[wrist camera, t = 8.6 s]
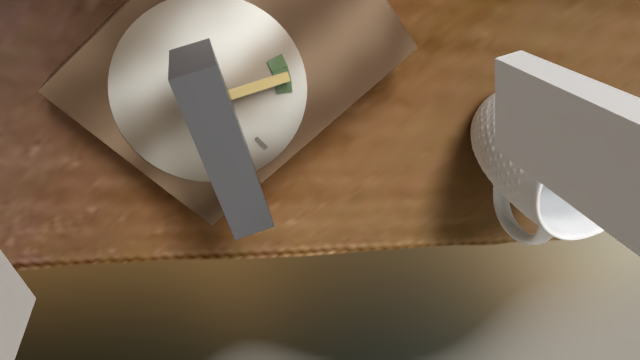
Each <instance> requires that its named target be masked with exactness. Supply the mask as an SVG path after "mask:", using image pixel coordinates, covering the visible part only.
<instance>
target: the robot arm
mask: <svg viewBox="0 0 640 360" xmlns="http://www.w3.org/2000/svg"><path fill="white" fill-rule="evenodd" d="M495 150H497V151H498V152H499V153H501V154H502V155H503V156H505V157H506V158H508V159H509V160H510V161H512V162H513V163H514V164H516V165H517V166H518V167H520V168H521V169H522V170H524V171H525V172H526V173H528V174H529V175H530V176H532V177H533V178H534V179H536V180H537V181H539V182H540V183H541V184H543V185H544V186H545V187H547V188H548V189H549V190H551V191H552V192H553V193H555V194H556V195H557V196H559V197H560V198H561V199H563V200H564V201H566V202H567V203H568V204H570V205H571V206H572V207H574V208H575V209H576V210H578V211H579V212H580V213H582V214H583V215H584V216H586V217H587V218H588V219H590V220H591V221H592V222H594V223H595V224H597V225H598V226H599V227H601V228H602V229H603V230H605V231H606V232H607V233H609V234H610V235H611V236H613V237H614V238H615V239H617V240H618V241H620V242H621V243H622V244H624V245H625V246H626V247H628V248H629V249H630V250H632V251H633V252H634V253H636V254H637V255H638V256H640V98H638V97H636V96H634V95H631V94H629V93H626V92H624V91H621V90H619V89H616V88H614V87H611V86H609V85H606V84H604V83H601V82H599V81H596V80H594V79H591V78H589V77H586V76H584V75H581V74H579V73H576V72H574V71H571V70H569V69H566V68H564V67H561V66H559V65H556V64H554V63H551V62H549V61H546V60H544V59H542V58H539V57H537V56H534V55H532V54H529V53H527V52H524V51H522V50H521V51H517V52H514V53H511V54H507V55H504V56H501V57H497V58H495ZM35 300H36V297H35V296H34V295H33V294H32V292H31V291H30V289H29V288H28V287H27V285H26V284H25V283H24V281H23V280H22V278H21V277H20V276H19V274H18V273H17V272H16V270H15V269H14V268H13V266H12V265H11V264H10V262H9V261H8V259H7V258H6V257H5V255H4V254H3V253H2V251H1V250H0V360H15V357H16V354H17V351H18V349H19V346H20V343H21V340H22V337H23V334H24V332H25V329H26V326H27V323H28V320H29V317H30V314H31V312H32V308H33V306H34V303H35Z"/></svg>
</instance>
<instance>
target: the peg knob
mask: <svg viewBox="0 0 640 360" xmlns="http://www.w3.org/2000/svg"><path fill="white" fill-rule="evenodd" d="M168 81H169V84H170V86H171V89H172V91H173V93H174V96H175V98H176V100H177V103H178V105H179V108H180V110H181V112H182V115H183V117H184V119H185V122H186V124H187V127H188V129H189V131H190V134H191V136H192V138H193V141H194V143H195V146H196V148H197V150H198V153H199V155H200V157H201V160H202V162H203V165H204V167H205V169H206V172H207V174H208V176H209V179H210V181H211V184H212V186H213V188H214V191H215V193H216V195H217V198H218V200H219V203H220V205H221V207H222V210H223V212H224V214H225V217H226V219H227V221H228V224H229V226H230V229H231V231H232V233H233V236H234V238H235V240H237V239H240V238H243V237H246V236H249V235H251V234H254V233H257V232H260V231H263V230H265V229H268V228H271V227H274V223H273V220H272V217H271V214H270V211H269V208H268V205H267V202H266V199H265V195H264V192H263V189H262V186H261V183H260V180H259V177H258V174H257V171H256V169H255V166H254V163H253V160H252V157H251V154H250V152H249V149H248V146H247V143H246V140H245V138H244V135H243V132H242V129H241V126H240V123H239V121H238V118H237V115H236V112H235V109H234V105H233V102H232V100H233V99H236V98H239V97H242V96H245V95H248V94H251V93H255V92H258V91H261V90H264V89H267V88H270V87H273V86H276V85H280V84H283V83H286V82H289V81H290V77H289V74H288V72H287V71H286V72H283V73H280V74H277V75H274V76H270V77H267V78H264V79H261V80H258V81H255V82H252V83H248V84H245V85H242V86H239V87H236V88H233V89H230V90H228V88H227V87H226V84H225V81H224V78H223V76H222V73H221V70H220V67H219V64H218V61H217V59H216V56H215V53H214V50H213V47H212V45H211V42H210V39H209V38H208V39H204V40H201V41H198V42H195V43H191V44H188V45H185V46H181V47H178V48H175V49H172V50H169V67H168Z"/></svg>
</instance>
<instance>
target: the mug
mask: <svg viewBox="0 0 640 360" xmlns="http://www.w3.org/2000/svg"><path fill="white" fill-rule="evenodd" d="M470 133H471V143H472V150H473V151H474V154H475V157H476V159H477V161H478V163H479V165H480V166H481V168H482V171H483V172H484V173H485V174H486V176H487V178H488V179H489V180H490V181H491V182H492V184H493V203H494V208H495V212H496V215H497V218H498V220H499V222H500V224H501V226H502V227H503V229H504V230H505V231H506V232H507V234H508V235H509V236H511V237H512V238H513V239H514V240H516V241H518V242H520V243H524V244H529V245H538V244H542V243H545V242H547V241H548V240H550V239H551V238H552V237H556V238H558V239H562V240H580V239H584V238H588V237H591V236H594V235H596V234H598V233H601V232H603V231H604V230H603V229H602V228H601V227H599V226H598V225H597V224H595V223H594V222H592V221H591V220H590V219H588V218H587V217H586V216H584V215H583V214H582V213H580V212H579V211H578V210H576V209H575V208H574V207H572V206H571V205H570V204H568V203H567V202H566V201H564V200H563V199H561V198H560V197H559V196H557V195H556V194H555V193H553V192H552V191H551V190H549V189H548V188H547V187H545V186H544V185H543V184H541V183H540V182H539V181H537V180H536V179H534V178H533V177H532V176H530V175H529V174H528V173H526V172H525V171H524V170H522V169H521V168H520V167H518V166H517V165H516V164H514V163H513V162H512V161H510V160H509V159H508V158H506V157H505V156H503V155H502V154H501V153H499V152H498V151H497V150H495V93H493V94H492V95H490V96H489V97H488V98H487V99H485V100H484V102H483V103H482V104H481V105H480V106H479V108H478V109H477V111H476V113H475V115H474V117H473V120H472V123H471V131H470ZM509 202H510V203H512V204H513V205H514V206H515V207H516V208H517V209H518V210H519V211H521V212H522V213H523V214H524V215H525V216H526V217H527V218H529V219H531V220H532V221H533V222H534V223H536V224H537V225H538V226H537V230H536V232H535V233H534V235H531V234H528V233H527V232H526V231H524V230H523V229H522V228H521V227H520V226H519V224H518V223H517V222H516V220H515V218H514V216H513V214H512V211H511V208H510V203H509Z"/></svg>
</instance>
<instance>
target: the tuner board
mask: <svg viewBox="0 0 640 360" xmlns="http://www.w3.org/2000/svg"><path fill="white" fill-rule="evenodd" d="M208 38H209V39H210V42H211V45H212V47H213V50H214V53H215V56H216V59H217V61H218V64H219V67H220V70H221V73H222V76H223V78H224V81H225V84H226V87H227V88H228V90H230V89H233V88H236V87H239V86H242V85H245V84H248V83H252V82H255V81H258V80H261V79H264V78H267V77H270V76H274V75H277V74H280V73H283V72H286V71H287V72H288V74H289V77H290V81H289V82H286V83H283V84H280V85H276V86H273V87H270V88H267V89H264V90H261V91H258V92H255V93H251V94H248V95H245V96H242V97H239V98H236V99H233V100H232V102H233V105H234V109H235V112H236V115H237V118H238V121H239V123H240V126H241V129H242V132H243V135H244V138H245V140H246V143H247V146H248V149H249V152H250V154H251V157H252V160H253V163H254V166H255V169H256V171H257V174H258V177H259V180H260V183H263V182H264V181H265V180H266V179H267V178H268V177H269V176H271V175H272V174H273V173H274V172H275V171H276V170H278V169H279V168H280V167H281V166H282V165H283V164H284V163H286V162H287V161H288V160H289V159H290V158H291V157H293V156H294V155H295V154H296V153H297V152H298V151H299V150H301V149H302V148H303V147H304V146H305V145H306V144H308V143H309V142H310V141H311V140H312V139H313V138H314V137H316V136H317V135H318V134H319V133H320V132H321V131H323V130H324V129H325V128H326V127H327V126H328V125H329V124H331V123H332V122H333V121H334V120H335V119H336V118H338V117H339V116H340V115H341V114H342V113H343V112H344V111H346V110H347V109H348V108H349V107H350V106H351V105H353V104H354V103H355V102H356V101H357V100H358V99H359V98H361V97H362V96H363V95H364V94H365V93H366V92H368V91H369V90H370V89H371V88H372V87H373V86H374V85H376V84H377V83H378V82H379V81H380V80H381V79H383V78H384V77H385V76H386V75H387V74H388V73H389V72H391V71H392V70H393V69H394V68H395V67H396V66H398V65H399V64H400V63H401V62H402V61H403V60H404V59H406V58H407V57H408V56H409V55H410V54H411V53H413V52H414V51H415V50H416V49H417V48H418V47H417V46H416V44H415V42H414V41H413V39H412V38H411V36H410V35H409V33H408V32H407V30H406V29H405V27H404V26H403V24H402V23H401V21H400V20H399V18H398V17H397V15H396V14H395V12H394V10H393V9H392V7H391V6H390V4H389V3H388V1H387V0H126V1H125V2H124V3H123V4H122V5H121V6H120V7H119V8H118V9H117V10H116V11H115V12H114V13H113V14H112V15H111V16H110V17H109V18H108V19H107V20H106V21H105V22H104V23H103V24H102V25H101V26H100V27H99V28H98V29H97V30H96V31H95V32H94V33H93V34H92V35H91V36H90V37H89V38H88V39H87V40H86V41H85V42H84V43H82V44H81V45H80V46H79V47H78V48H77V49H76V50H75V51H74V52H73V53H72V54H71V55H70V56H69V57H68V58H67V59H66V60H65V61H64V62H63V63H62V64H61V65H60V66H59V67H58V68H57V69H56V70H55V71H54V72H53V73H52V74H51V75H50V76H49V77H48V79H47V80H46V81H45V82H44V84H43V85H42V86H41V88H40V89H39V90H38V92H39V93H40V94H42V95H43V96H44V97H45V98H47V99H48V100H49V101H51V102H52V103H53V104H55V105H56V106H57V107H58V108H60V109H61V110H62V111H64V112H65V113H66V114H67V115H69V116H70V117H71V118H73V119H74V120H75V121H77V122H78V123H79V124H80V125H82V126H83V127H84V128H86V129H87V130H88V131H89V132H91V133H92V134H93V135H95V136H96V137H97V138H99V139H100V140H101V141H102V142H104V143H105V144H106V145H108V146H109V147H110V148H111V149H113V150H114V151H115V152H117V153H118V154H119V155H121V156H122V157H123V158H124V159H126V160H127V161H128V162H130V163H131V164H132V165H133V166H135V167H136V168H137V169H139V170H140V171H141V172H143V173H144V174H145V175H146V176H148V177H149V178H150V179H152V180H153V181H154V182H155V183H157V184H158V185H159V186H161V187H162V188H163V189H165V190H166V191H167V192H168V193H170V194H171V195H172V196H174V197H175V198H176V199H177V200H179V201H180V202H181V203H183V204H184V205H185V206H186V207H188V208H189V209H190V210H192V211H193V212H194V213H196V214H197V215H198V216H199V217H201V218H202V219H203V220H205V221H206V222H207V223H208V224H210V225H211V226H213V225H214V224H215V223H216V222H218V221H219V220H220V219H221V218H222V217H223V216H224V215H225V214H224V212H223V210H222V207H221V205H220V203H219V200H218V198H217V195H216V193H215V191H214V188H213V186H212V184H211V181H210V179H209V176H208V174H207V172H206V169H205V167H204V165H203V162H202V160H201V157H200V155H199V153H198V150H197V148H196V146H195V143H194V141H193V138H192V136H191V134H190V131H189V129H188V127H187V124H186V122H185V119H184V117H183V115H182V112H181V110H180V108H179V105H178V103H177V100H176V98H175V96H174V93H173V91H172V89H171V86H170V84H169V81H168V67H169V50H172V49H175V48H178V47H181V46H185V45H188V44H191V43H195V42H198V41H201V40H204V39H208Z"/></svg>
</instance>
